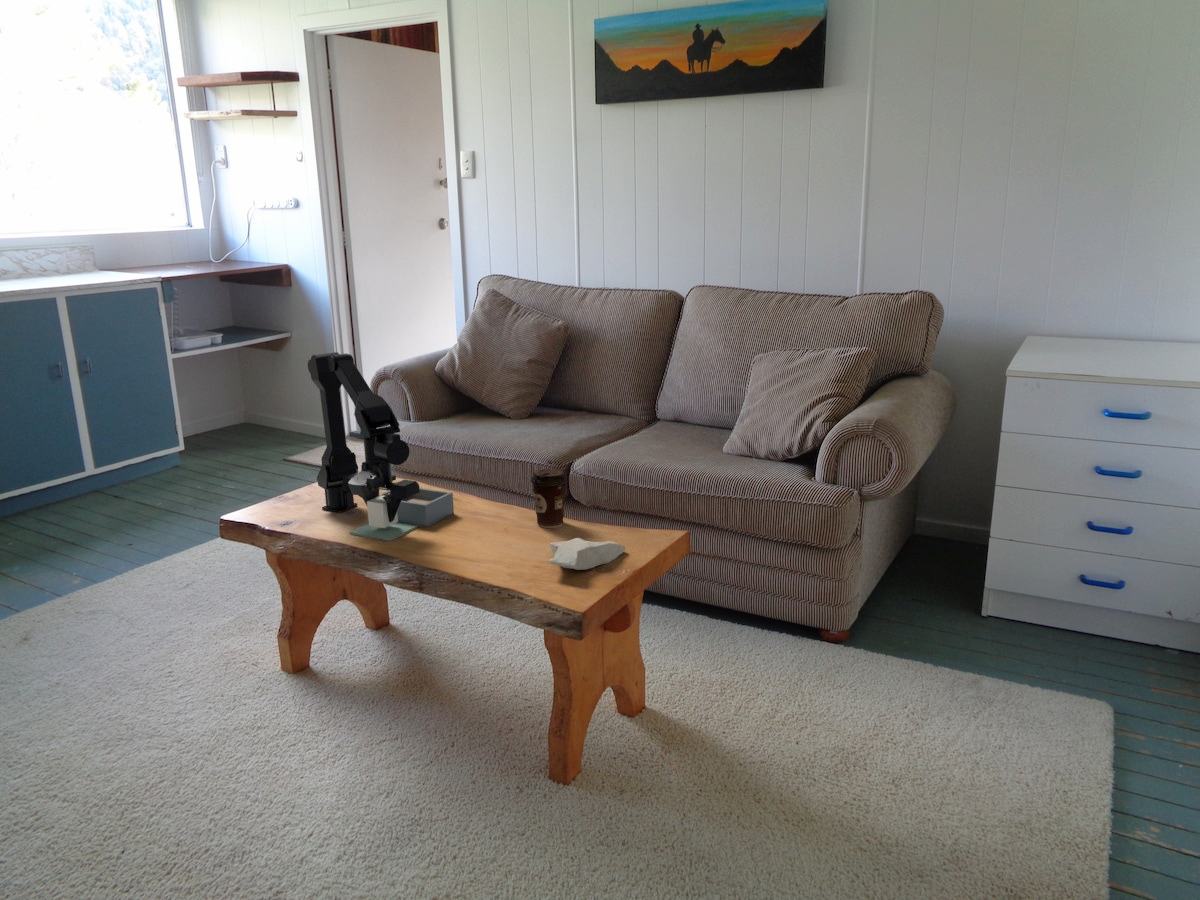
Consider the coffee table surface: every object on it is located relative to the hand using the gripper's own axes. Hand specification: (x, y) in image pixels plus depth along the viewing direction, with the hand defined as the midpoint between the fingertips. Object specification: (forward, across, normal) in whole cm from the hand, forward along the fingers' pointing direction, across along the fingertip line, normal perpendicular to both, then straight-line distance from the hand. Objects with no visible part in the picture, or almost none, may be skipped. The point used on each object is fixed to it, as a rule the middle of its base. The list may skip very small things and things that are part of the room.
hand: (383, 520), depth 216 cm
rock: (+3, +51, +1) cm, 51 cm away
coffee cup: (+3, +34, +20) cm, 39 cm away
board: (+3, 0, 0) cm, 3 cm away
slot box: (+3, 0, +12) cm, 12 cm away
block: (+1, 0, 0) cm, 1 cm away
